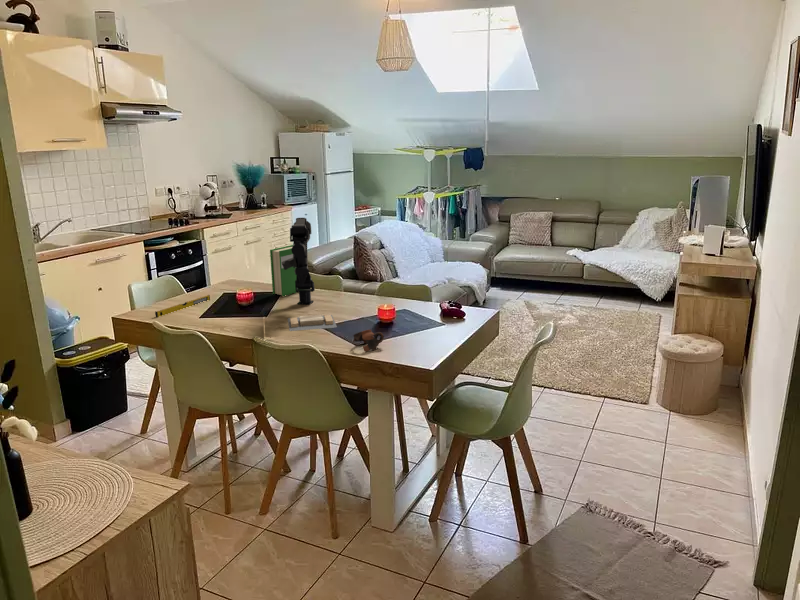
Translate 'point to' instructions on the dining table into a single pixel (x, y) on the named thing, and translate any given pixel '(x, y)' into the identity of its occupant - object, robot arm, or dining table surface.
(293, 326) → the plank mat
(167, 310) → the spirit level
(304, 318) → the birch plank
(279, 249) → the hardback book
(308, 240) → the robot arm
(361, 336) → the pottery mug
